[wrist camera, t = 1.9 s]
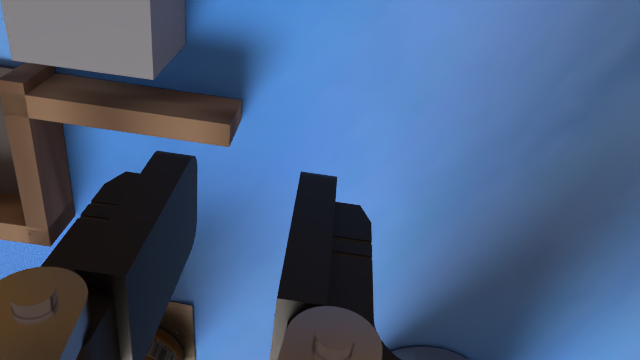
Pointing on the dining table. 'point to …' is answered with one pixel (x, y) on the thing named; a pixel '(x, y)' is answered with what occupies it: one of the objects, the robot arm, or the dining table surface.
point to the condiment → (174, 335)
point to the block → (97, 34)
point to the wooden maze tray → (85, 110)
